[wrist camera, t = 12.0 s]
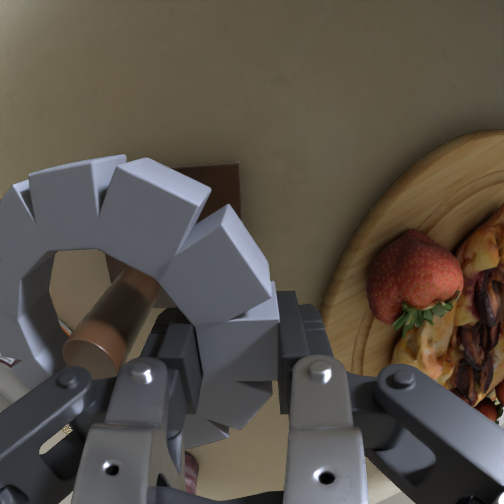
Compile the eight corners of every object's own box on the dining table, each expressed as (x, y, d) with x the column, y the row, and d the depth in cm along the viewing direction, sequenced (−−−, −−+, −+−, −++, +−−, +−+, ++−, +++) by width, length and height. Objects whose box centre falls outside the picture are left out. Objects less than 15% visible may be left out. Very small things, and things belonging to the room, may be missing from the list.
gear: (59, 396, 14) (42, 426, 11) (-12, 182, 9) (-51, 196, 7) (274, 413, 13) (277, 454, 11) (271, 141, 9) (277, 144, 7)
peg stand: (123, 297, 22) (42, 426, 10) (102, 173, 19) (-43, 235, 7) (246, 296, 22) (241, 455, 10) (240, 161, 18) (217, 211, 7)
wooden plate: (220, 335, 23) (208, 422, 15) (502, 53, 14) (575, 44, 7) (412, 455, 31) (430, 503, 23) (582, 290, 22) (619, 320, 15)
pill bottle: (92, 368, 25) (43, 461, 14) (44, 363, 25) (-9, 441, 14) (69, 309, 22) (-4, 400, 12) (19, 309, 22) (-51, 383, 12)
